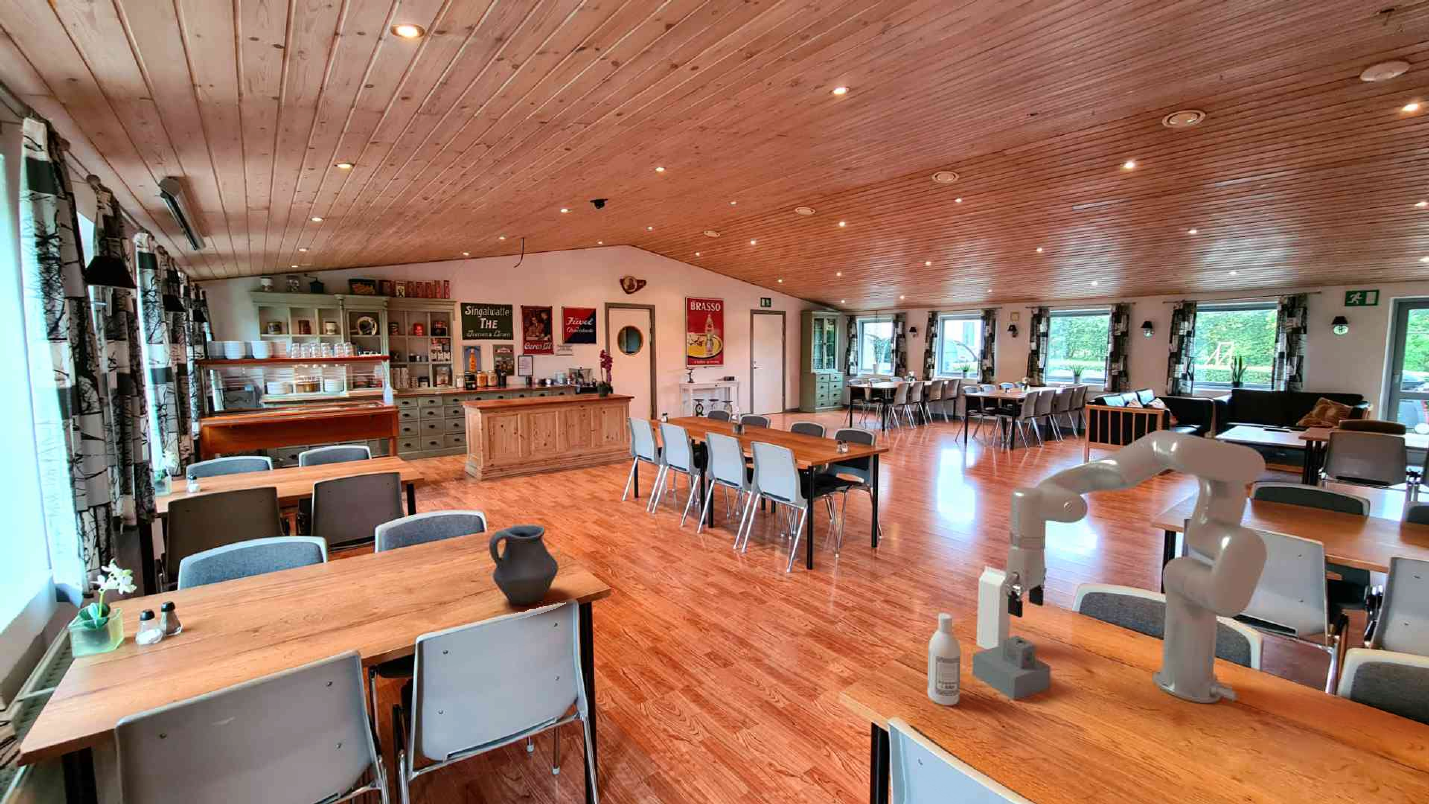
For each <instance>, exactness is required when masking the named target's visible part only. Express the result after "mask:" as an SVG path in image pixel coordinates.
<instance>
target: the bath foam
mask: <svg viewBox="0 0 1429 804" xmlns="http://www.w3.org/2000/svg"><path fill="white" fill-rule="evenodd" d="M937 624H938V626H937V627H938V628H937V630H936V631H935V633H934V634H933V635H932V636H931V638H930V641H929V643H928V649H927V651H928V654H927V656H928V658H927V696H928V697H929V699H930V700H931V701H933V702H934V703H937V704H938V705H942V706H954V705H956V704H958V703H959V701H960V687H961V686H960V682H961V679H960V678H961V655H962V654H961V647H960V644H959V641H958V640H957V638H956V636H955V635H954V633H953V631H952V630H953V629H952V628H953V616H952V615H951V614H949V613H945V612H943V613H942V612H941V613H939V614H938V622H937Z"/></svg>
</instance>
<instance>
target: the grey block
mask: <svg viewBox="0 0 1429 804" xmlns="http://www.w3.org/2000/svg"><path fill="white" fill-rule="evenodd" d="M972 676H974V677H975V676H976V677H975V678H977V679H978V678H979V680H980V679H981V680H980V681H982V682H983V681H984V682H983V683H984V684H986V685H988V684H989V685H990V687H991V688H993V689H994V690H996V691H997V692H999V693H1001V694H1002V695H1004V696H1006V698H1009V699H1010V700H1012V701H1014V702H1015V701H1018V700H1020V699H1023V698H1026V697H1028V696H1032V695H1034V694H1033V693H1035V694H1037V692H1038V693H1040V691H1041V692H1043V690H1044V691H1046V690H1049V689H1051V688H1050V686H1051V685H1050V684H1051V665H1049V664H1048V663H1045V662H1043V661H1042V660H1040V659H1038V658H1036V657H1035V664H1034V665H1031V666H1028V667H1026V668H1023V669H1020V668H1018V667H1016V666H1014V665H1012V664H1010V663H1009V662H1007V661H1005V660H1003V645H1001V646H997V647H994V648H991V649H984V650H981V651H976V652H974V653H973V655H972ZM989 685H988V686H989Z"/></svg>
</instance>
